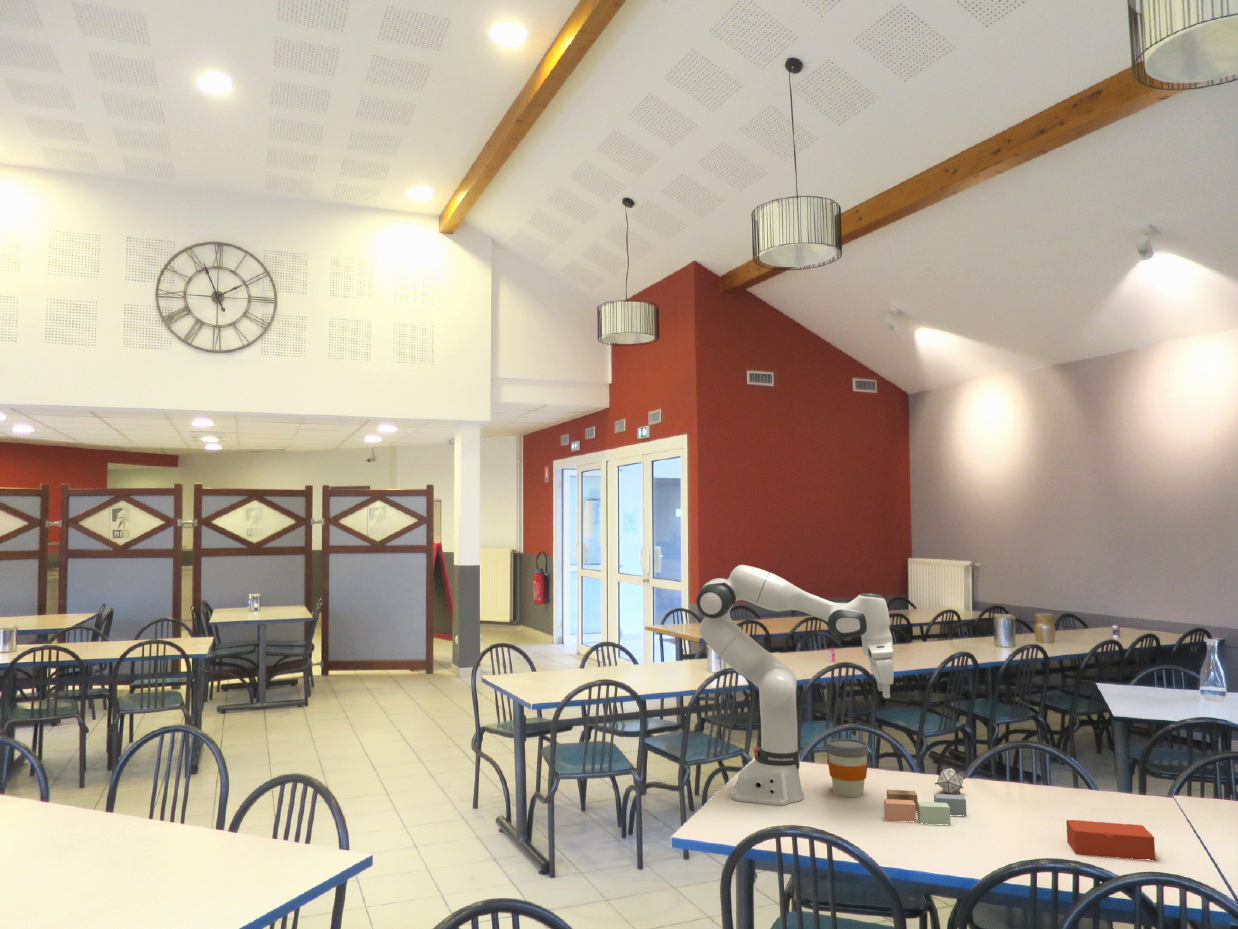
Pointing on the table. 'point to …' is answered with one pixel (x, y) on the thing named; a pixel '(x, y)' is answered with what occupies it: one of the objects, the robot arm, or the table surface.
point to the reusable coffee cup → (847, 766)
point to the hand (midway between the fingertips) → (884, 694)
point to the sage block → (933, 813)
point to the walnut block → (902, 795)
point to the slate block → (953, 803)
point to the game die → (950, 780)
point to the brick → (1110, 839)
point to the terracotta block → (899, 810)
